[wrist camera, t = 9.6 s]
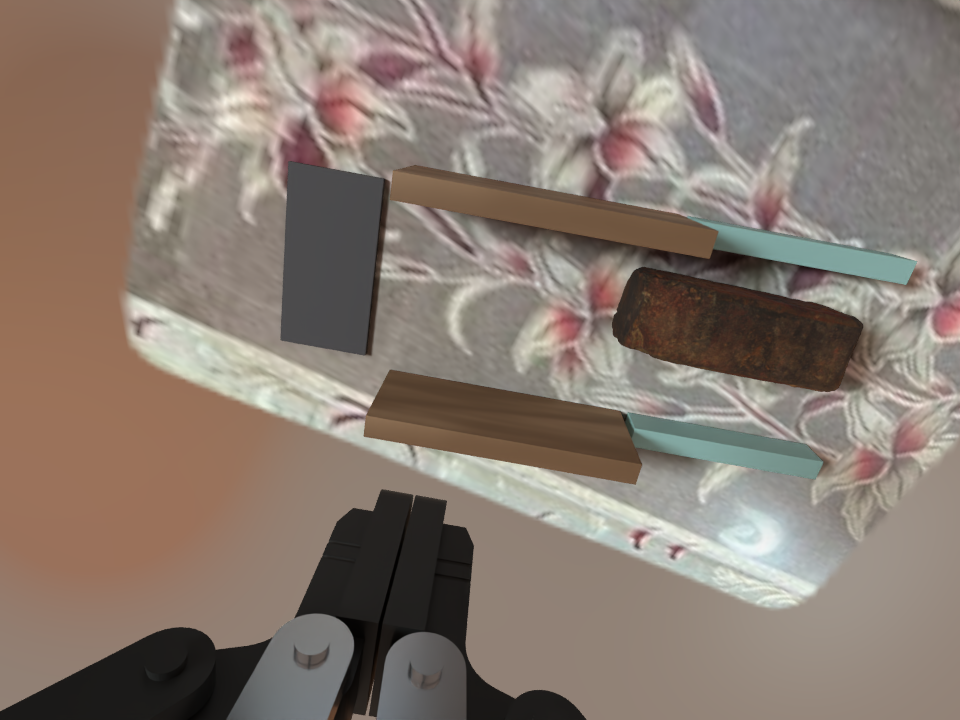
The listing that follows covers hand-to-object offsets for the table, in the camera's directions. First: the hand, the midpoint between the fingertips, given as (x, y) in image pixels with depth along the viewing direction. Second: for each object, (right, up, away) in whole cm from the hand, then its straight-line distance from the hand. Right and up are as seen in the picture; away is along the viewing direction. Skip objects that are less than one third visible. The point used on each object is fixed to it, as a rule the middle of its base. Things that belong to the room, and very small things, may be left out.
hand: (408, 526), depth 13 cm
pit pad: (-7, +9, +18) cm, 22 cm away
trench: (+4, +7, +19) cm, 20 cm away
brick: (+12, +5, +20) cm, 24 cm away
